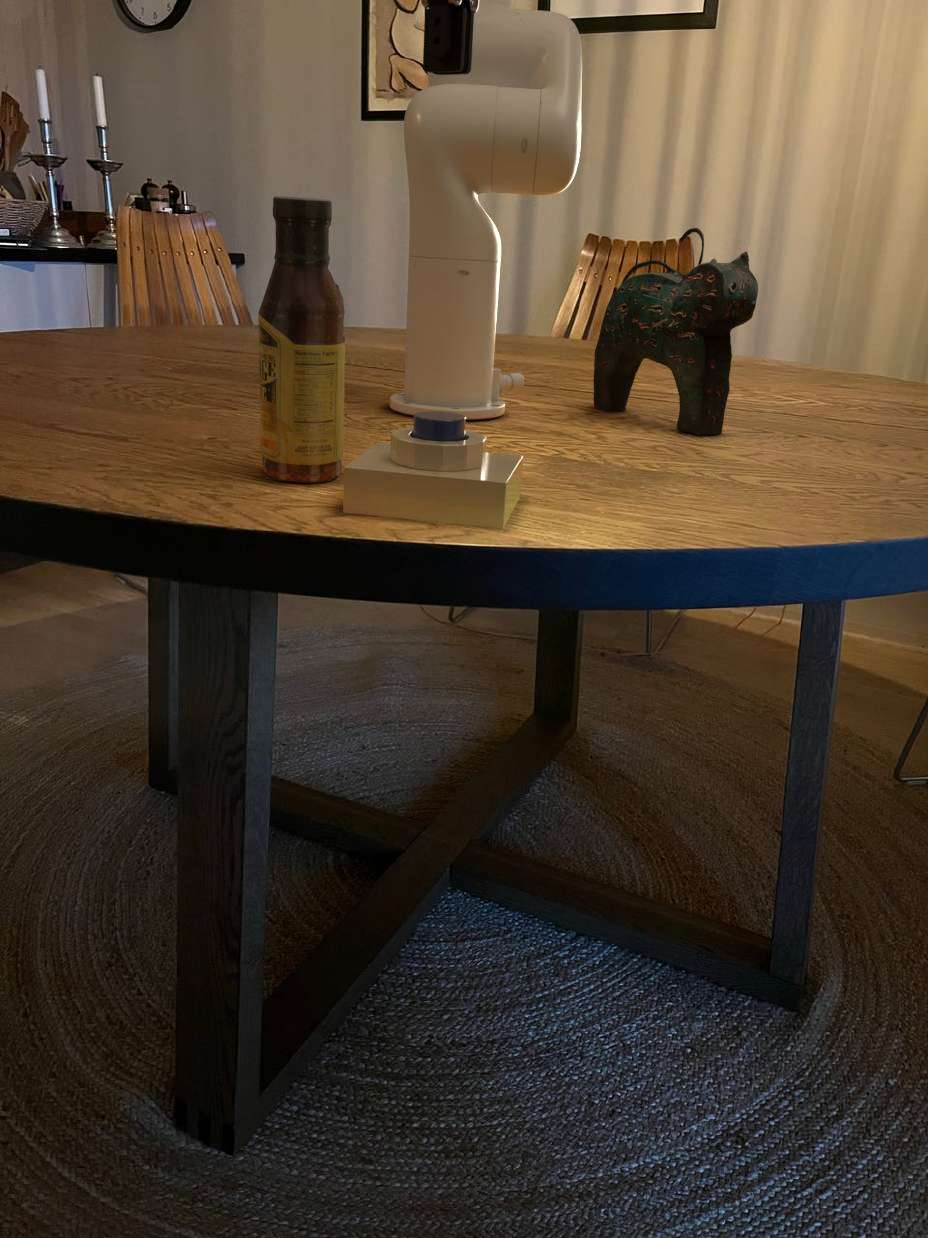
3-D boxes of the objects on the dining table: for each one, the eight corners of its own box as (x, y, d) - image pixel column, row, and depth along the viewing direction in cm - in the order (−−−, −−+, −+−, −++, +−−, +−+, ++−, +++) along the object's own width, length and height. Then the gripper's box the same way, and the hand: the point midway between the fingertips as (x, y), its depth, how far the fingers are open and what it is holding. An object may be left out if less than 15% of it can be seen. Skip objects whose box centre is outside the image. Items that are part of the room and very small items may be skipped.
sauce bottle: (265, 466, 79) (260, 195, 72) (344, 469, 80) (347, 200, 73) (256, 486, 73) (250, 192, 66) (342, 488, 74) (345, 198, 67)
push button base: (377, 483, 76) (378, 418, 74) (520, 498, 74) (525, 431, 72) (342, 513, 68) (343, 439, 66) (503, 529, 66) (508, 455, 64)
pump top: (419, 434, 71) (420, 409, 71) (468, 438, 71) (470, 413, 70) (407, 443, 68) (408, 417, 67) (459, 447, 67) (460, 422, 67)
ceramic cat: (741, 437, 104) (773, 231, 96) (695, 440, 100) (725, 227, 93) (617, 405, 119) (637, 226, 112) (575, 407, 116) (592, 222, 109)
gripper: (451, -301, 59) (436, 53, 65) (558, -203, 71) (537, 87, 77) (348, -278, 62) (344, 56, 69) (467, -188, 74) (454, 88, 81)
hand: (446, 71), depth 73 cm, fingers closed
